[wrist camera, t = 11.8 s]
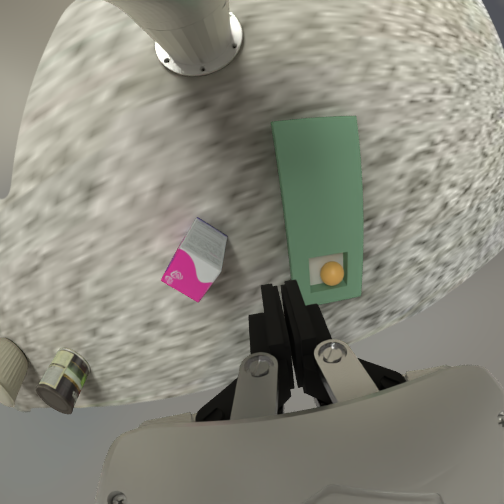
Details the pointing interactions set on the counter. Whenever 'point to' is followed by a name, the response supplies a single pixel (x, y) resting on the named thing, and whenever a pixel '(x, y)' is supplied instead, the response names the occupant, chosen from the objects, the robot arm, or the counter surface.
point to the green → (321, 202)
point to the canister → (11, 371)
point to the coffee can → (63, 380)
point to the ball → (332, 273)
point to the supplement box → (197, 260)
